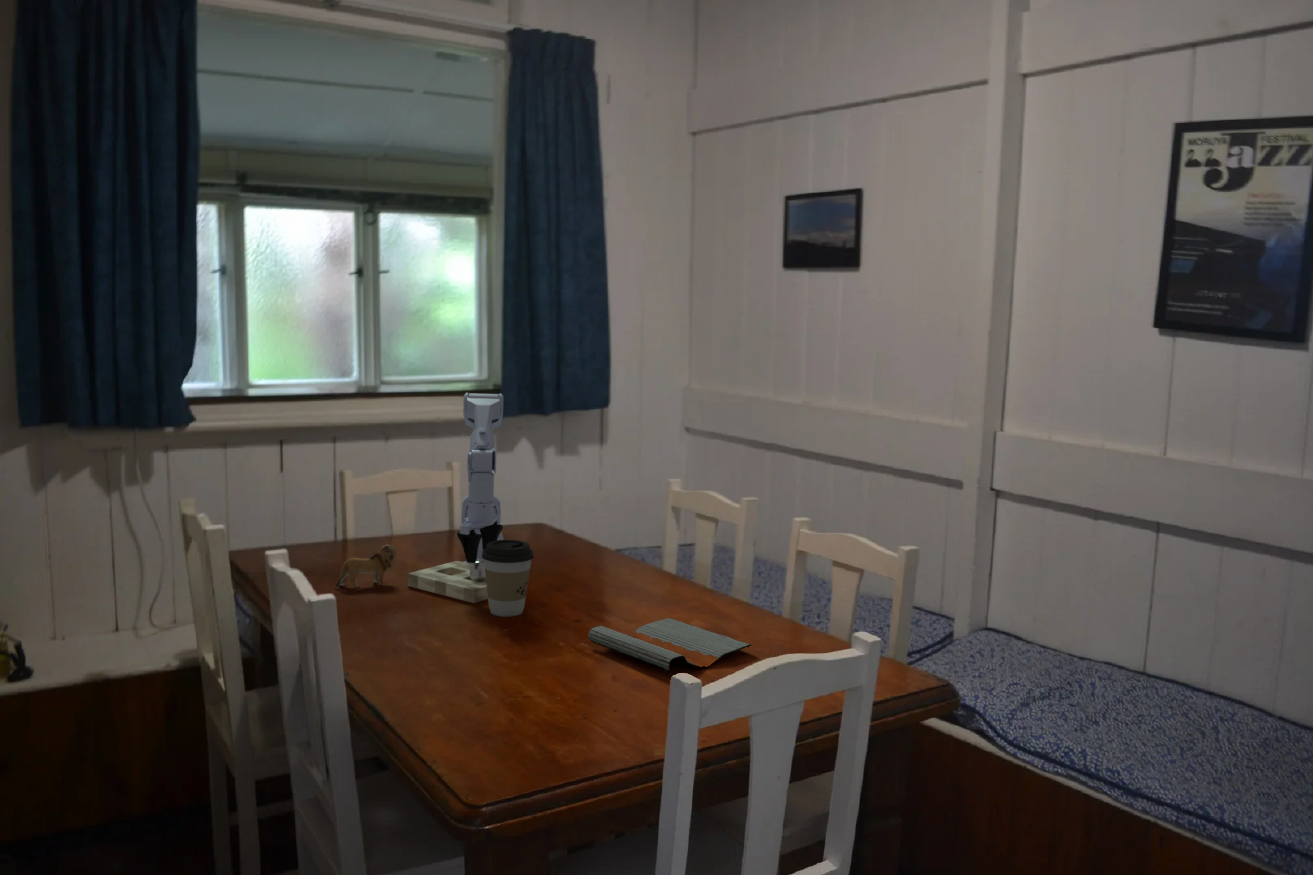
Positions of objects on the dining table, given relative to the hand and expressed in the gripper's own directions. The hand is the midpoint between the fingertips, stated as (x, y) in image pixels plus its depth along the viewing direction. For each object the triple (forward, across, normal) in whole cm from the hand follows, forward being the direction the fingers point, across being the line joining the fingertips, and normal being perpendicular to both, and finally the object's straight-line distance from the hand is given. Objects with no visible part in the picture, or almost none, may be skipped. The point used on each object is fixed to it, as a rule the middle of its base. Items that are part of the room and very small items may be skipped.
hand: (479, 558), depth 233 cm
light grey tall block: (+8, 0, 0) cm, 8 cm away
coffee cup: (+8, +11, +14) cm, 19 cm away
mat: (+8, +18, +54) cm, 57 cm away
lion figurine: (+8, +8, -25) cm, 28 cm away
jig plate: (+8, -1, -4) cm, 9 cm away
